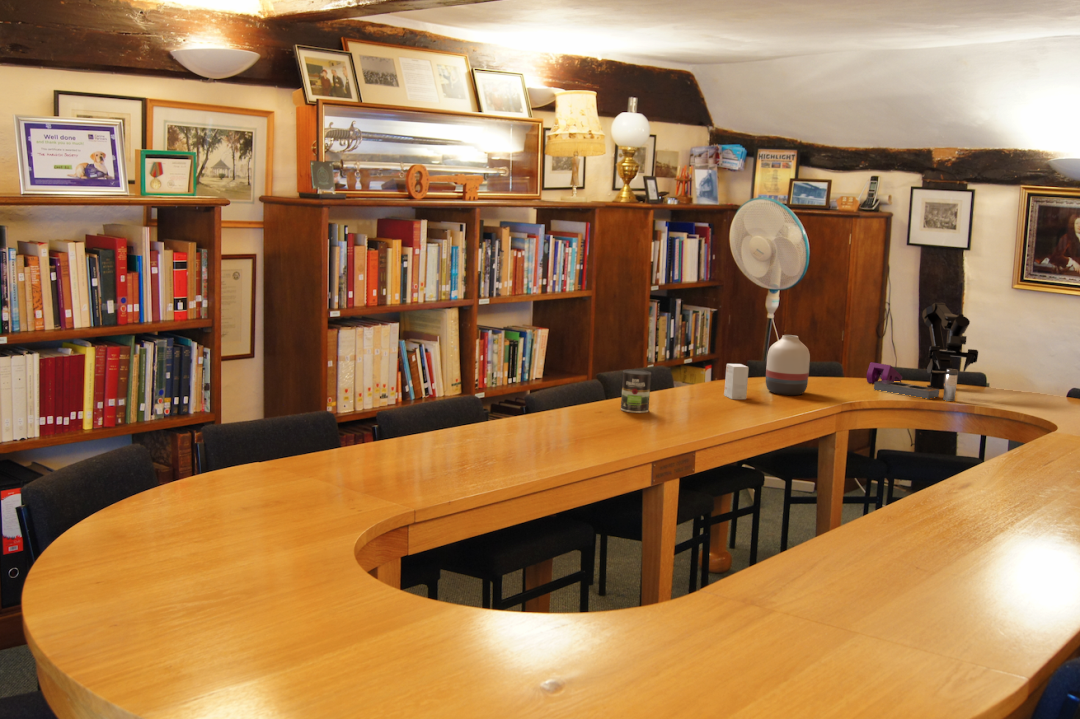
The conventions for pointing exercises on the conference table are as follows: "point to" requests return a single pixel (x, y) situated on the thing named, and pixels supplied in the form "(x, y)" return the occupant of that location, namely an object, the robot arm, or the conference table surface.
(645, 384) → the coffee can
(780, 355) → the vase
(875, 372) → the mounting bracket
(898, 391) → the rack rail
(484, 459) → the conference table surface
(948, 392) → the steel pin
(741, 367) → the small box
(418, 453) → the conference table surface
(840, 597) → the conference table surface
